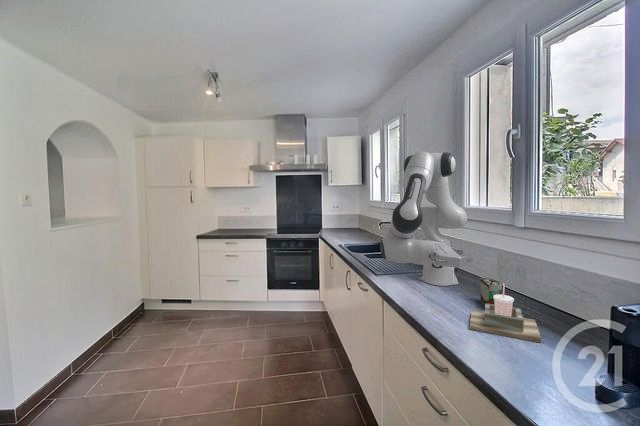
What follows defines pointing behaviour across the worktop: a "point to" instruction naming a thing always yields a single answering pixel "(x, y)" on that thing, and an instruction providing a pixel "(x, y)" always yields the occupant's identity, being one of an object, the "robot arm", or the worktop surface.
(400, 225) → the robot arm
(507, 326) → the collar stand
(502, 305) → the beverage cup
